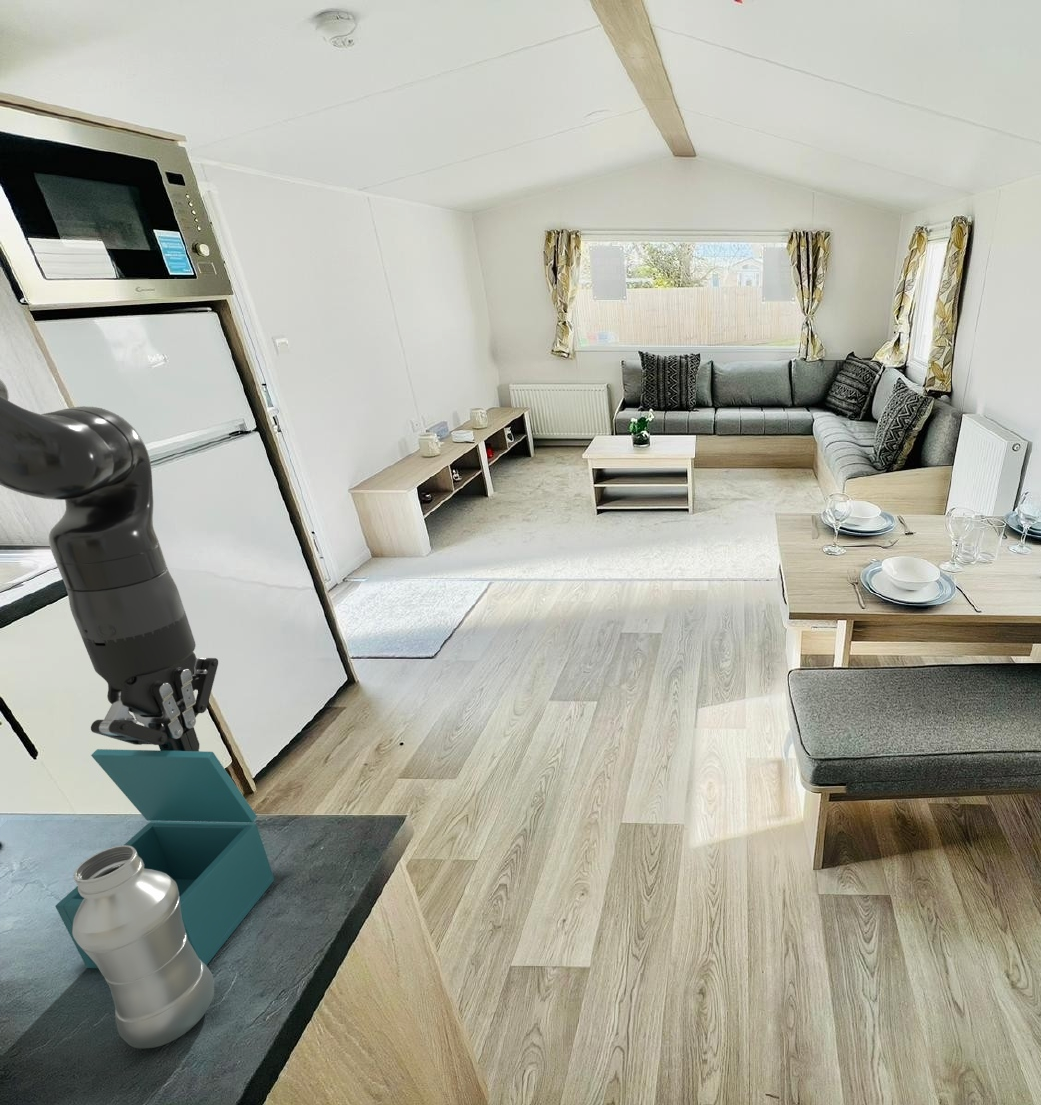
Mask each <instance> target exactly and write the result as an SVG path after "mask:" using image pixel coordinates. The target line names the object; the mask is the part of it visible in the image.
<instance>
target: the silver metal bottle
mask: <svg viewBox="0 0 1041 1105" xmlns="http://www.w3.org/2000/svg"><path fill="white" fill-rule="evenodd" d="M73 879H74V882H75V883H76V887H77V886H78V892H79V894H80V895H81V896H82V897H84V899H83V901H82V903H81V904H80V906H79V908H78V911H77V913H76V915H75V917H74V921H73V930H72V933H73V938H74V939H75V940H76V942H77V944H78V945H79V946H80V947H81V948H82V949H83V950H84V951H85V952H86V954H87V955H88V956H89V957H90V958H91V959H92V960H93V961H94V962H95V964H96V965H97V967H98V968H97V969H98V970H99V972H100V974H101V975H102V976H103V977H104V980H105V982H106V983H107V985H108V986H109V990H110V993H111V997H112V1001H113V1005H114V1007H115V1008H114V1009H115V1011H114V1014H115V1015H114V1016H115V1017H114V1018H115V1023H116V1030H117V1033H118V1036H119V1037H120V1038H121V1039H122V1040H123V1041H124V1042H125V1043H127V1045H129V1046H130V1047H132V1048H135V1049H153V1048H158V1047H162V1046H164V1045H167V1044H170V1043H172V1042H173V1041H176V1040H177V1039H179V1038H180V1037H182V1036H184V1034H186V1033H187V1032H189V1031H190V1030H191V1029H192V1028H194V1027H195V1025H197V1024H198V1023H199V1022H200V1021H201V1019H203V1017H204V1015H205V1014H206V1012H207V1011H208V1009H209V1007H210V1006H211V1003H212V1002H213V1000H214V997H215V996H214V995H215V980H214V975H213V973H212V972H211V970H210V969H209V967H208V965H205V964H204V963H203V962H202V961H201V960H200V959H199V958H198V956H197V954H196V953H195V951H194V949H193V947H192V946H191V944H190V942H189V941H188V938H187V934H186V932H185V927H184V924H183V920H182V914H181V905H180V897H179V891H178V886H177V884H176V882H175V881H174V880H173V879H172V878H171V877H170V876H168V875H167V874H166V873H163V872H160V871H156V870H152V869H144V863H143V860H142V859H141V858H140V857H139V856H138V854H137V852H136V850H135V849H134V848H133V847H132V846H127V845H124V844H123V845H117V846H113V847H109V848H106V849H104V850H101V851H99V852H97V853H95V854H93V855H92V856H90V857H88V858H87V859H85V860H84V861H83V862H82V863H80V864H79V865H78V867H77V868H76V869H75V870H74V872H73Z"/></svg>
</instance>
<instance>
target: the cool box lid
mask: <svg viewBox="0 0 1041 1105" xmlns="http://www.w3.org/2000/svg"><path fill="white" fill-rule="evenodd" d="M90 756H91V757H92V759H93V760H94V761H95V762H96V763H97V764H98V765H99V767H100V768H101V769H102V770H103V771H104V773H105V774H106V775H107V776H108V777H109V779H110V780H111V781H112V782H113V783H114V784H115V785H116V787H117V788H118V789H119V790H120V791H121V792H122V793H123V794H124V796H125V797H126V798H127V799H128V801H129V802H130V803H131V804H132V805H133V806H134V807H135V808H136V810H138V812H139V813H140V814H141V815H142V817H143V818H144V819H145V820H146V821H149V822H150V821H177V822H230V823H255V820H256V819H257V817H258V816H257V814H256V812H255V811H254V809H253V808H252V807H251V805H250V803H249V802H248V801H247V799H246V798H245V797H244V795H243V794H242V792H241V791H240V789H239V788H238V786H237V785H236V784H235V782H234V781H233V779H232V777H231V776H230V775H229V773H228V771H227V770H226V769H225V767H224V765H223V764H222V763H221V762H220V760H219V758H218V757H217V755H216V754H215V753H214V751H200V750H199V751H160V750H157V749H156V750H155V749H154V750H153V749H111V748H109V749H108V748H104V749H103V748H98V749H95V750H94V751H93V752H92V753H91V754H90Z"/></svg>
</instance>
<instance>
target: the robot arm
mask: <svg viewBox="0 0 1041 1105" xmlns="http://www.w3.org/2000/svg"><path fill="white" fill-rule="evenodd" d="M152 472H153V471H152V464H151V459H150V455H149V452H148V449H147V446H146V444H145V442H144V440H143V439H142V437H141V436H140V434H139V433H138V431H137V430H136V429H135V427H134V426H133V425H131V423H130V422H128V421H127V420H126V419H125V418H123V417H122V416H120V415H119V414H117V413H115V412H113V411H110V410H107V409H105V408H102V407H97V406H84V405H83V406H73V407H68V408H64V409H63V408H62V409H58V410H55V411H50V412H46V413H42V414H40V413H37V412H34V411H31V410H28V409H26V408H23V407H21V406H20V405H17V404H15V403H13V402H11V401H10V400H9V390H8V388H7V386H6V384H5V383H4V381H3V379H1V378H0V486H1V487H4V488H6V489H8V490H11V491H13V492H17V493H19V494H23V495H26V496H31V497H34V498H40V499H45V500H51V501H52V500H53V501H65V511H64V513H63V515H62V517H61V518H60V519H59V521H57V523H56V524H55V525H54V526H52V528H51V530H50V531H49V534H48V543H49V547H50V551H51V554H52V556H53V558H54V560H55V564H56V566H57V569H58V571H59V574H60V576H61V579H62V581H63V583H64V586H65V589H66V592H67V597H68V602H69V608H70V611H71V614H72V617H73V619H74V622H75V625H76V627H77V630H78V633H79V634H80V637H81V639H82V642H83V644H84V648H85V650H86V652H87V655H88V657H89V659H90V662H91V664H92V667H93V669H94V671H95V673H96V674H97V675H98V676H100V677H101V678H102V679H103V680H104V681H105V682H106V683H107V696H106V697H107V700H108V702H109V703H110V704H111V705H110V706H109V709H108V711H107V713H106V715H105V717H104V718H103V719H96V720H94V721H93V722H92V723H91V724H90V725H91V726H90V731H91V732H92V733H94V734H97V735H100V736H104V737H108V738H111V739H115V740H118V741H122V742H125V743H128V744H132V745H135V746H142V745H153V746H158V748H159V751H200V741H199V738H198V737H197V736H198V735H197V733H196V730H195V726H196V723H197V720H196V718H197V717H198V715H199V714H203V713H205V712H206V711H207V709H208V705H209V701H210V698H211V697H210V696H211V694H212V691H213V686H214V682H215V678H216V675H217V670H218V666H219V659H218V658H216V657H197V655H196V654H195V652H194V651H195V650H196V645H197V644H196V640H195V637H194V634H193V632H192V629H191V625H190V622H189V620H188V616H187V613H186V609H185V607H184V604H183V600H182V597H181V595H180V592H179V589H178V586H177V584H176V582H175V580H174V578H173V576H172V575H171V573H170V571H169V568H168V565H167V562H166V560H165V556H164V553H163V550H162V547H161V544H160V542H159V539H158V536H157V534H156V531H155V529H154V518H153V517H154V490H153V473H152ZM194 691H197V695H196V697H195V692H194ZM131 713H132V714H131ZM139 723H140V724H139Z"/></svg>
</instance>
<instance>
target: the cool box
mask: <svg viewBox="0 0 1041 1105" xmlns="http://www.w3.org/2000/svg"><path fill="white" fill-rule="evenodd" d="M123 845H127V846H132V847H133V848H134V849H135V850H136V852H137V854H138V856H139V857H140V858H141V859H142V860H143V863H144V869H152V870H156V871H160V872H163V873H166V874H167V875H168V876H170V877H171V878H172V879H173V880H174V881H175V882H176V884H177V886H178V891H179V897H180V905H181V914H182V920H183V924H184V927H185V932H186V934H187V938H188V941H189V942H190V944H191V946H192V947H193V949H194V951H195V953H196V954H197V956H198V958H199V959H200V960H201V961H202V962H203V963H204V964H205V965H206V966H208V964H209V963H210V962H211V960H212V959H213V958H214V957H215V956H216V955H217V953H218V952H219V951H220V950H221V948H222V947H223V946H224V944H225V943H226V941H228V939H229V938H230V937H231V936H232V934H233V933H234V932H235V931H236V929H237V928H238V927H239V925H240V924H241V923H242V922H243V920H245V918H246V917H247V915H248V914H249V913H250V912H251V910H252V909H253V908H254V907H255V905H256V904H257V903H258V902H259V900H260V899H261V898H262V897H263V895H265V893H266V891H267V890H268V889H269V888H270V886H271V885H272V884H273V882H275V877H274V874H273V871H272V868H271V865H270V862H269V859H268V855H267V852H266V848H265V846H264V843H263V840H262V837H261V834H260V830H259V828H258V824H257V822H252V823H251V822H199V821H149V822H148V823H147V824H145V825H144V826H143V827H142V828H141V829H140V830H139V831H138V832H136V834H134V835H133V836H132V837H131V838H130V839H129V840H127V842H125V843H123ZM83 899H84V897H82V896H81V895H80V894H79V892H78V886H77V885H76V886H75V887H74V888H73V889H72V890H71V891H70V892H69V893H68V894H67V895H65V896H64V897H63V898H62V899H61V900H60V901H59V902H58V903H56V904H55V910H57V913H58V914H59V916H60V918H61V920H62V922H63V924H64V926H65V928H66V930H67V932H68V934H69V936H70V939H71V940H72V942H73V943H74V946H75V948H76V950H77V952H78V953H79V955H80V957H81V959H82V961H83V963H84V966H85V967H86V968H87V969H99V968H98V967H97V965H96V964H95V962H94V961H93V960H92V959H91V958H90V957H89V956H88V955H87V954H86V952H85V951H84V950H83V949H82V948H81V947H80V946H79V945H78V944H77V942H76V940H75V939H74V938H73V933H72V930H73V921H74V917H75V915H76V913H77V911H78V908H79V906H80V904H81V903H82V901H83Z"/></svg>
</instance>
